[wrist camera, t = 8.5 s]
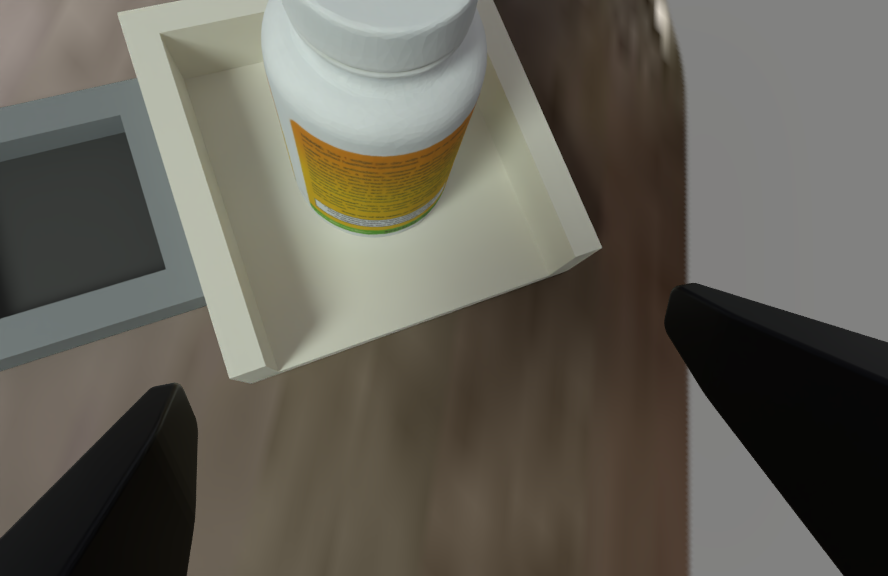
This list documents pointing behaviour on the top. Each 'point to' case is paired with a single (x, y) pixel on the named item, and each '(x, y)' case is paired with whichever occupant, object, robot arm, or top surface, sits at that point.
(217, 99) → the tray
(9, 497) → the top surface
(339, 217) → the supplement bottle
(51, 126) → the holed board
